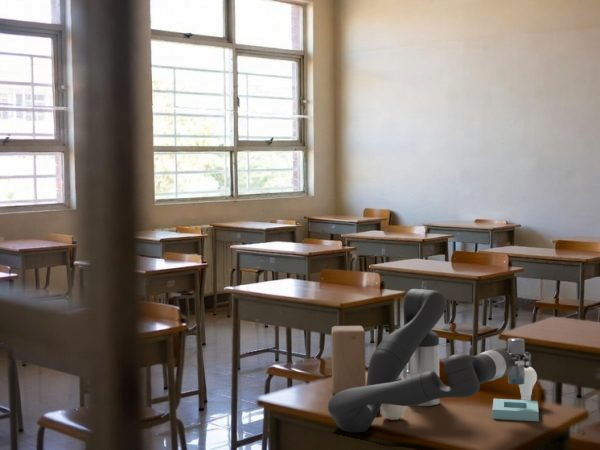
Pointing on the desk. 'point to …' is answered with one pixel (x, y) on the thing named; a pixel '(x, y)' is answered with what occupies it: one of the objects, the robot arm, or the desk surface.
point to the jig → (515, 409)
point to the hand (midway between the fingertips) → (520, 354)
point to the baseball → (393, 411)
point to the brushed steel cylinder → (517, 372)
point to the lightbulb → (528, 384)
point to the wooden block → (348, 358)
